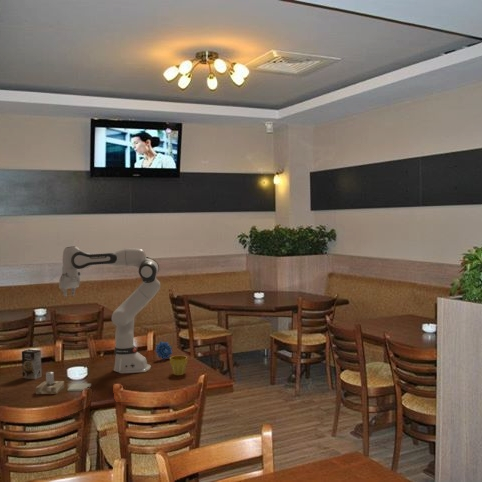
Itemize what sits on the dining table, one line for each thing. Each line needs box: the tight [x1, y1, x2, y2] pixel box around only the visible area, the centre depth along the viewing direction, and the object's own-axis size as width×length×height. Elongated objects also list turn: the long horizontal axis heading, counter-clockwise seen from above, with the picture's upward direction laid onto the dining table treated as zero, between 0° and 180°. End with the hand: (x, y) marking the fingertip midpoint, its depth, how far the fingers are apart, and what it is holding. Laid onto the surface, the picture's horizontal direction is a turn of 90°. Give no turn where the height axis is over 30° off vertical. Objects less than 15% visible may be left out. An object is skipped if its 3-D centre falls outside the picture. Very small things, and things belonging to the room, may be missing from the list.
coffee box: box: [21, 348, 42, 380], centre depth 346 cm, size 9×6×16 cm
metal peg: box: [45, 371, 55, 386], centre depth 320 cm, size 4×4×10 cm
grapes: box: [154, 341, 173, 360], centre depth 379 cm, size 12×7×12 cm, turn 119°
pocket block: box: [35, 380, 65, 395], centre depth 320 cm, size 11×11×4 cm
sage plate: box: [67, 383, 92, 392], centre depth 323 cm, size 10×10×1 cm
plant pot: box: [169, 355, 188, 376], centre depth 346 cm, size 10×10×10 cm
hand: (68, 296), depth 353 cm, fingers open, 8 cm apart
